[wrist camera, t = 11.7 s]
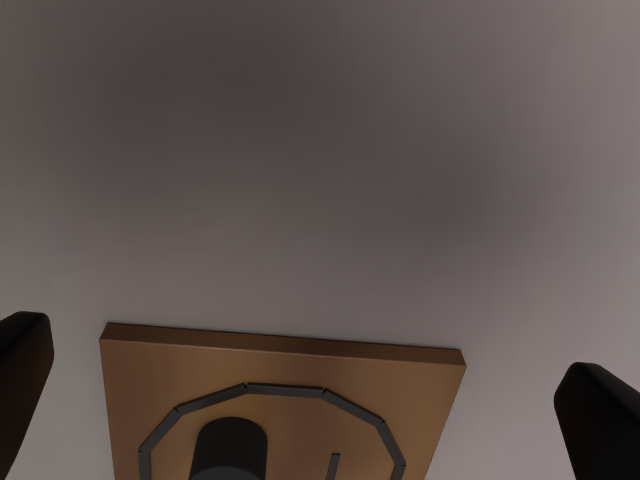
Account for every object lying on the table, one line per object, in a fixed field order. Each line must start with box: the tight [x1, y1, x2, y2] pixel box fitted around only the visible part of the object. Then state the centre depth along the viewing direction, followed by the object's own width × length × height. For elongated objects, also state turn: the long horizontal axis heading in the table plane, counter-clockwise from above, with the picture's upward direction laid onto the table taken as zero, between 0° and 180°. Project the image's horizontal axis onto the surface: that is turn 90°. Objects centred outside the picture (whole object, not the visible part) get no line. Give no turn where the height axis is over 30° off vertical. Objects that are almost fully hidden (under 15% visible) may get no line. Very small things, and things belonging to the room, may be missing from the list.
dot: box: [188, 417, 268, 480], centre depth 21 cm, size 3×3×2 cm
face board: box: [99, 324, 467, 480], centre depth 24 cm, size 15×16×1 cm
